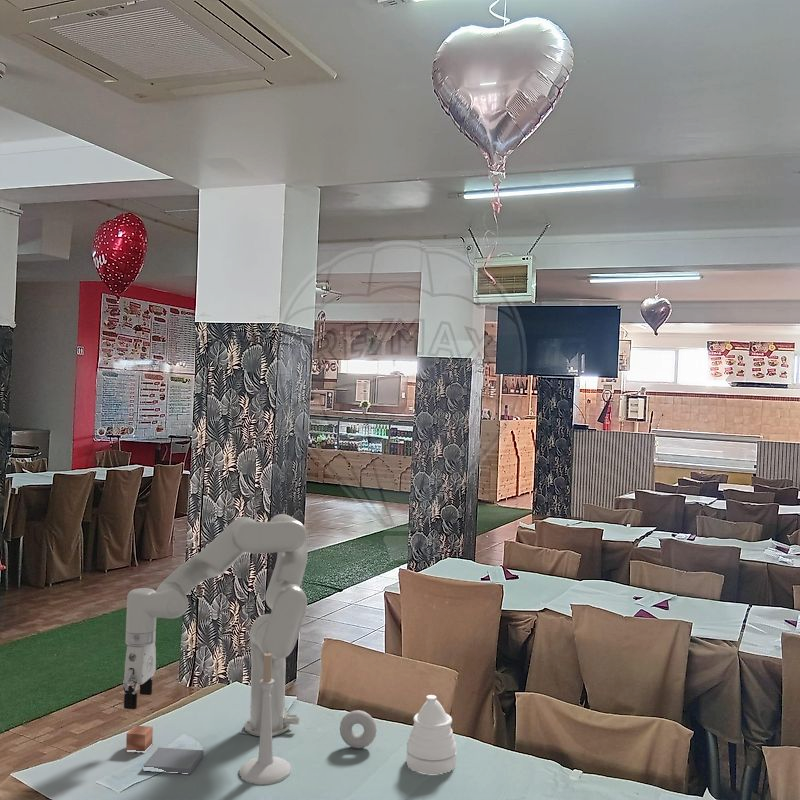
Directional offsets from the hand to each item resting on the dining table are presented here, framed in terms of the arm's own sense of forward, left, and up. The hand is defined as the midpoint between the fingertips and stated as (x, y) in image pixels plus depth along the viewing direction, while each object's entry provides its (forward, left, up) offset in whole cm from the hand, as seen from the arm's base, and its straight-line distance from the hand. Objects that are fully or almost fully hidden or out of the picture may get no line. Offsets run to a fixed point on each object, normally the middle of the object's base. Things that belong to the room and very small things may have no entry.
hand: (138, 701), depth 209 cm
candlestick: (-36, +8, -13) cm, 39 cm away
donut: (-57, -8, -13) cm, 59 cm away
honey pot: (-77, -2, -13) cm, 79 cm away
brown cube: (0, 0, -13) cm, 13 cm away
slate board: (-12, +7, -13) cm, 19 cm away
